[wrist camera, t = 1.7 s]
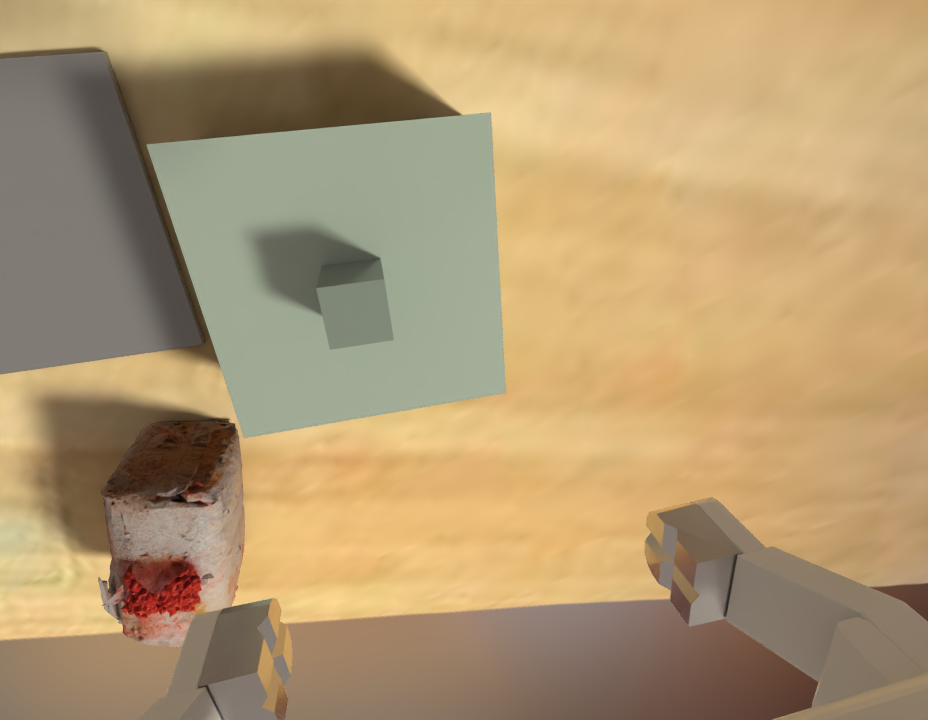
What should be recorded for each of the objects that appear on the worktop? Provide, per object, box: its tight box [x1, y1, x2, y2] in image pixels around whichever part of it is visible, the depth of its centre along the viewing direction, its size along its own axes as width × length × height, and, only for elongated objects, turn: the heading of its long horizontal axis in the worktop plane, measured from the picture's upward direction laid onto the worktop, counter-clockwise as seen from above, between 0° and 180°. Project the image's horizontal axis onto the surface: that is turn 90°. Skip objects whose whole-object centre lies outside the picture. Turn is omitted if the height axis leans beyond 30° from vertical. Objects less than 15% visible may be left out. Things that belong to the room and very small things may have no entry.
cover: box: [146, 113, 506, 438], centre depth 28 cm, size 16×16×11 cm
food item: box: [98, 420, 245, 647], centre depth 34 cm, size 14×8×10 cm, turn 172°
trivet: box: [0, 52, 205, 374], centre depth 28 cm, size 16×16×1 cm
